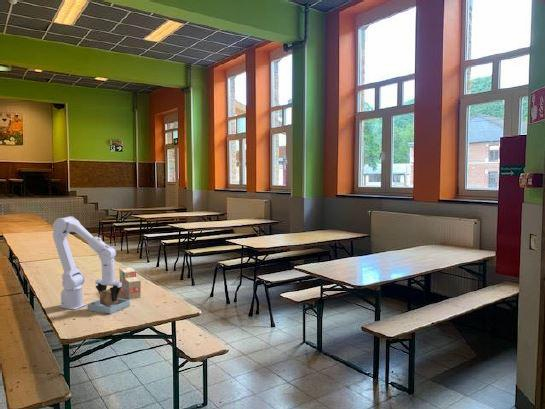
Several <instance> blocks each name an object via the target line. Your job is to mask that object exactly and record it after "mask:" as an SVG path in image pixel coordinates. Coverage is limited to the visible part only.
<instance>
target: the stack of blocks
mask: <svg viewBox="0 0 545 409" xmlns="http://www.w3.org/2000/svg"><path fill="white" fill-rule="evenodd" d="M118 272H119V282H120V283H122V287H121V289H120V291H121V292H122V293H123V295H124V296H125V297H126V298H127V300H132V299H138V298H141V296H142V295H141V294H142V293H141V288H142V287H141V282H142V281H141V279H140V278H139V277H137V271H136V270H135V269H134V268H133V267H131V266H128V267H120V268H119V269H118Z"/></svg>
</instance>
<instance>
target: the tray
mask: <svg viewBox="0 0 545 409" xmlns="http://www.w3.org/2000/svg"><path fill="white" fill-rule="evenodd" d="M86 304H87V303H86ZM86 306H87V311H89V312H96V313H99V314H106V315H112V314H115V313H117V312H120V311H121V310H122V311H123V309H126V308H129V307H130V306H131V299H125V298H120V297H118V303H116V304H113V305H110V306H105V305H102V304H100V299H98V300H94V301H92V302H90V303H88V304H87V305H86Z"/></svg>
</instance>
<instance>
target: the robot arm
mask: <svg viewBox="0 0 545 409" xmlns="http://www.w3.org/2000/svg"><path fill="white" fill-rule="evenodd" d="M52 228H53V233H52V237H53V241H54V244H55V248H56V250H57V251H56V252H57V253H58V254H57V255H58V257H59V260H60V263H61V266H62V269H63V274H62V275H61V278H62V283H61V284H62V287H63V289H62V290H61V292H60V306H59V308H62V309H68V310H77V309H79V308H82V307H85V306H87V303H84V302H83V285H84V283H85V281H86V280H85V275H84V274H83V273H82V272H81V269H79V268H78V267H77V265H76V264H75V260H74V258H73V254H72V250H71V247H70V245H69V241H68V239H67V237H68V235H69V234H70V233H75V234H77V235H78V236H79V237H81V238H82V239H84V241H86V242H87V245H88V247H89V248H90V249H92V250H93V251H94V252H95V253H96V254H98V258H99V260H100V262H101V279H95V288H96V289H97V291H98V294H99V295H100V291H104V290H107V288H108V286H109V289H110V290H111V294H112V301H113V302H114V301H117V296H118V297H119V293H120V291H121V290H120V289H121V287H122V283H120V281H118V280H116V279H115V278H116V276H115V275H116V274H115V273H116V272H115V257H116V256H117V250H116V249H115V247H113V246H110V245H108V244H106V242H104V241H103V240H102V238H101V237H98V236H94V235H92V234H91V233H90V232H89V231H88V230H87V229H86V228H85V227H84V225H82V223H81V222H80V221H79V220H78V219H76V218H75V217H74V216H72V215H69V216H66V217H60V218H56V219H55V220H54V222H53V223H52Z"/></svg>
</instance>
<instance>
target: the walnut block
mask: <svg viewBox="0 0 545 409" xmlns="http://www.w3.org/2000/svg"><path fill="white" fill-rule="evenodd" d="M118 298H119V295H118V296H117V301H114V302H113V301H112V294H111V290H110V288H108V289H107V288H106V290H104V291H100V294H99V300H100V304H102V305H105V306H110V305H113V304H116V303H118Z"/></svg>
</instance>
